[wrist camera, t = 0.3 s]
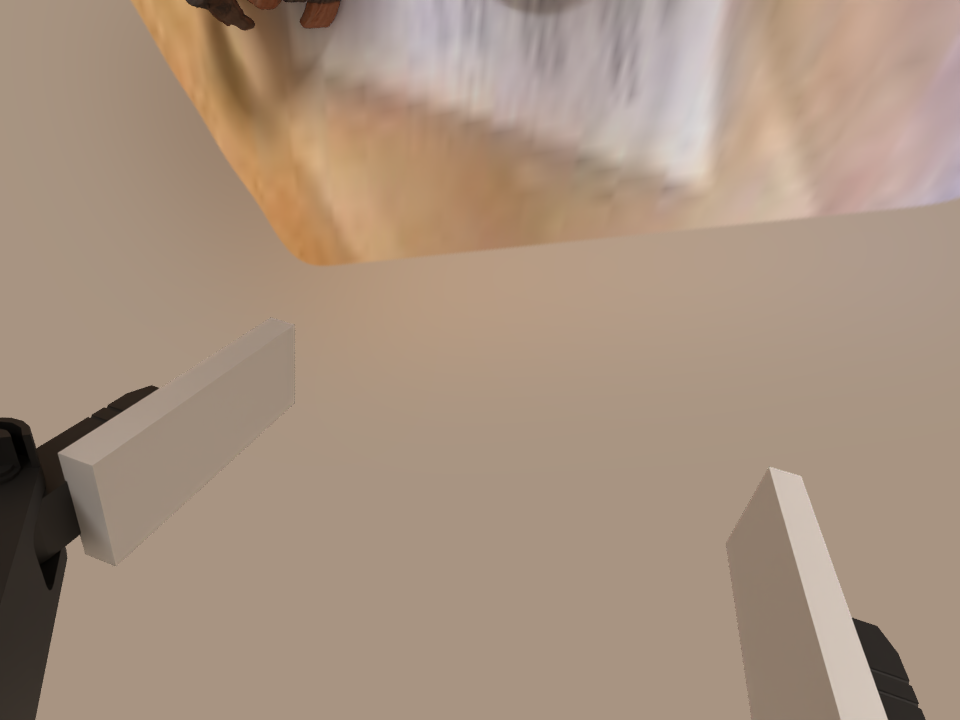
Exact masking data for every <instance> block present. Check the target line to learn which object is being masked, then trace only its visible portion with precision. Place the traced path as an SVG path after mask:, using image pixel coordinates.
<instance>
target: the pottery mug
mask: <svg viewBox="0 0 960 720" xmlns="http://www.w3.org/2000/svg"><path fill="white" fill-rule="evenodd" d="M186 1H187V2H188V4H190V5H192V6H195V7H197V8H198V7H200V8H204V9H207V10H209V11H210V13H211V14H212V15H213V16H214V17H216V18H217V19H218V20H219V21H220V22H223V23H224V24H225V25H227V26H230V25H235V26H237V27H238V28H240V29H241V30H249V29H252V28H254V26H255V23H254V21H253V20H252V19H251V18H249V17H248V16H246V15H245V14H244V12H243V10H242V9H241V8H240V6H239V4H238V2H237V0H186ZM248 1H249V2H250V3H252V4H254V5H255V6H256V7H258V8H259V9H261V10H263V9H274V8H276V7H277V6H278V5H279V4H280V2H281V1H282V0H248ZM284 1H285V2H306V1H307V3H306V8H305V11H304V13H303V15H302V17H301V19H300V23H301V25H302V27H304V28H320V27H325V28H326V27H329V26H330V24H331V23H332V22H333V20H334V18H335V16H336V14H337V11H338V8H339V5H340V1H341V0H284Z"/></svg>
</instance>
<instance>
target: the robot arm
mask: <svg viewBox="0 0 960 720" xmlns="http://www.w3.org/2000/svg"><path fill="white" fill-rule="evenodd" d="M294 395H295V325H294V324H291V323H288V322H284V321H281V320H278V319H275V318H269V319H268V320H266V321H265V322H263V323H261V324H260V325H258V326H257V327H255V328H253V329H252V330H250V331H249V332H247V333H246V334H244V335H243V336H241V337H239V338H238V339H236V340H235V341H233V342H232V343H230V344H228V345H227V346H225V347H224V348H222V349H220V350H219V351H217V352H216V353H214V354H213V355H211V356H209V357H208V358H206V359H205V360H203V361H202V362H200V363H199V364H197V365H195V366H194V367H192V368H191V369H189V370H187V371H186V372H184V373H183V374H181V375H180V376H178V377H176V378H175V379H174V380H172V381H170V382H169V383H167V384H166V385H164V386H162V387H161V388H158V387H155V386H148V387H145V388H142V389H139V390H136V391H133V392H130V393H127V394H125V395H124V396H122V397H120V398H119V399H117V400H115V401H114V402H112V403H111V404H109V405H108V407H107V408H102V409H101V410H99V411H97V412H96V413H94V414H92V417H91V418H89V417H88V418H86V419H84V420H83V421H81V422H79V423H78V424H76V425H74V426H73V427H71V428H69V429H68V430H66V431H64V432H63V433H61V434H59V435H58V436H56V437H54V438H53V439H51V440H50V441H48V442H46V443H45V444H43V445H41V446H40V447H38V448H36V446H35V443H34V440H33V436H32V433H31V429H30V427H29V426H28V425H27V424H26V423H25V422H24V421H21V420H17V419H13V418H0V720H35V718H36V713H37V708H38V702H39V698H40V693H41V688H42V683H43V677H44V672H45V668H46V663H47V658H48V652H49V647H50V642H51V637H52V632H53V627H54V622H55V617H56V612H57V607H58V602H59V596H60V592H61V587H62V582H63V577H64V572H65V567H66V562H67V552H66V548H65V546H66V545H67V544H69V543H70V542H71V541H72V540H74V539H75V538H76V537H77V536H78V535H80V536H81V540H82V544H83V547H84V551H85V554H86V555H89V556H91V557H94V558H96V559H99V560H101V561H104V562H107V563H109V564H111V565H114V566H117V565H118V564H119V563H120V562H121V561H123V560H124V559H125V558H126V557H127V556H128V555H129V554H130V553H131V552H132V551H134V550H135V549H136V548H137V547H138V546H139V545H140V544H141V543H142V542H143V541H144V540H146V539H147V538H148V537H149V536H150V535H151V534H152V533H153V532H154V531H155V530H156V529H158V528H159V527H160V526H161V525H162V524H163V523H164V522H165V521H166V520H167V519H169V518H170V517H171V516H172V515H173V514H174V513H175V512H176V511H177V510H178V509H179V508H181V507H182V506H183V505H184V504H185V503H186V502H187V501H188V500H189V499H190V498H191V497H193V496H194V495H195V494H196V493H197V492H198V491H199V490H200V489H201V488H202V487H204V485H206V484H207V483H208V482H209V481H210V480H211V479H212V478H213V477H214V476H216V475H217V474H218V473H219V472H220V471H221V470H222V469H223V468H224V467H225V466H226V465H228V464H229V463H230V462H231V461H232V460H233V459H234V458H235V457H236V456H237V455H239V454H240V453H241V452H242V451H243V450H244V449H245V448H246V447H247V446H248V445H249V444H251V443H252V442H253V441H254V440H255V439H256V438H257V437H258V436H259V435H260V434H262V432H264V431H265V430H266V429H267V428H268V427H269V426H270V425H271V424H272V423H273V422H274V421H276V420H277V419H278V418H279V417H280V416H281V415H282V414H283V413H284V412H285V411H287V410H288V409H289V408H290V407H291V406H292V405H293V404H294V403H295V399H294V398H295V396H294ZM726 548H727V554H728V561H729V568H730V575H731V582H732V589H733V596H734V602H735V609H736V616H737V622H738V630H739V637H740V643H741V650H742V657H743V663H744V670H745V678H746V684H747V691H748V698H749V705H750V712H751V719H752V720H925V717H924V715H923V713H922V710H921V709H920V708H918V704H919V703H918V700H917V698H916V695H915V693H914V691H913V688H912V686H910V685H909V679H908V676H907V674H906V671H905V669H904V666H903V664H902V662H901V659H900V657H899V654H898V653H897V651H896V650H895V649H894V648H893V646H892V645H891V643H890V642H889V641H888V640H887V638H886V637H885V636H884V634H883V633H882V632H881V630H880V629H879V628H878V627H877V626H875V625H872V624H869V623H866V622H863V621H860V620H857V619H854V618H851V615H850V612H849V609H848V607H847V604H846V601H845V598H844V595H843V592H842V590H841V587H840V584H839V581H838V578H837V576H836V573H835V570H834V567H833V565H832V562H831V559H830V556H829V553H828V550H827V547H826V545H825V542H824V539H823V536H822V533H821V531H820V528H819V525H818V522H817V520H816V517H815V514H814V511H813V508H812V506H811V503H810V500H809V497H808V494H807V491H806V489H805V486H804V483H803V480H802V477H801V476H799V475H795V474H792V473H789V472H785V471H782V470H779V469H775V468H772V467H768V469H767V471H766V473H765V475H764V476H763V478H762V480H761V482H760V484H759V485H758V487H757V489H756V491H755V492H754V494H753V496H752V498H751V499H750V501H749V503H748V505H747V507H746V508H745V510H744V512H743V514H742V516H741V517H740V519H739V521H738V523H737V524H736V526H735V528H734V530H733V531H732V533H731V535H730V537H729V539H728V540H727V542H726Z"/></svg>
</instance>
